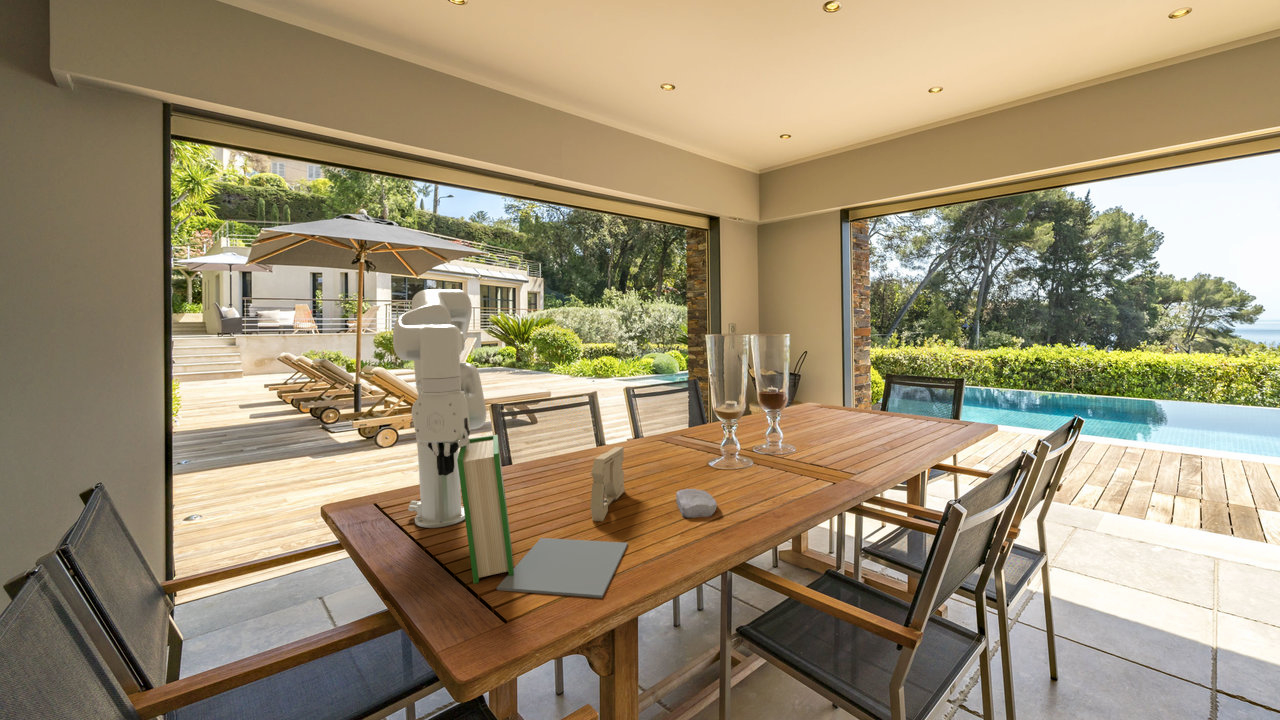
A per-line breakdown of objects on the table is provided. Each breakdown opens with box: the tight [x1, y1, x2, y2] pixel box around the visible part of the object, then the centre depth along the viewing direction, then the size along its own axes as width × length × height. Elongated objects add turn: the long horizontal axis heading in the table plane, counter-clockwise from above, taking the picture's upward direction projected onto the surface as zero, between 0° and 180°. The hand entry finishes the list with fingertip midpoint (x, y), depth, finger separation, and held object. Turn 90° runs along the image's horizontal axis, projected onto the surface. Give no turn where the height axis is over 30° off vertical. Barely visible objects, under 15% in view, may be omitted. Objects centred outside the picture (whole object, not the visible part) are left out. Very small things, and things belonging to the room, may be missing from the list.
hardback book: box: [457, 434, 514, 584], centre depth 106 cm, size 18×7×24 cm, turn 16°
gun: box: [590, 446, 626, 522], centre depth 137 cm, size 24×3×15 cm, turn 168°
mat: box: [496, 537, 629, 599], centre depth 104 cm, size 20×22×1 cm
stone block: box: [675, 488, 718, 519], centre depth 133 cm, size 12×5×10 cm
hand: (446, 473), depth 107 cm, fingers closed
